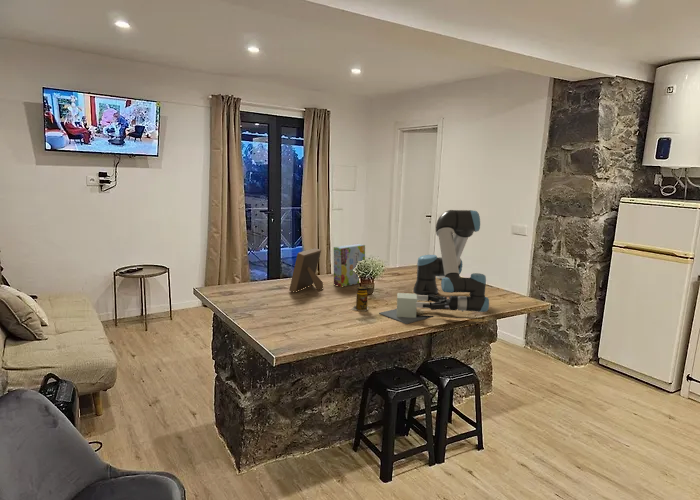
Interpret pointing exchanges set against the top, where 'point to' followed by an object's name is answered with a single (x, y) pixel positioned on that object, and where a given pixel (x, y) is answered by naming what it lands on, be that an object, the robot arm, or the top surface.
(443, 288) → the robot arm
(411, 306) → the pale sage matte cube
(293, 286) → the photo frame
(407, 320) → the rubber mat
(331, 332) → the top surface
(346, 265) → the snack box
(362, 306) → the condiment
